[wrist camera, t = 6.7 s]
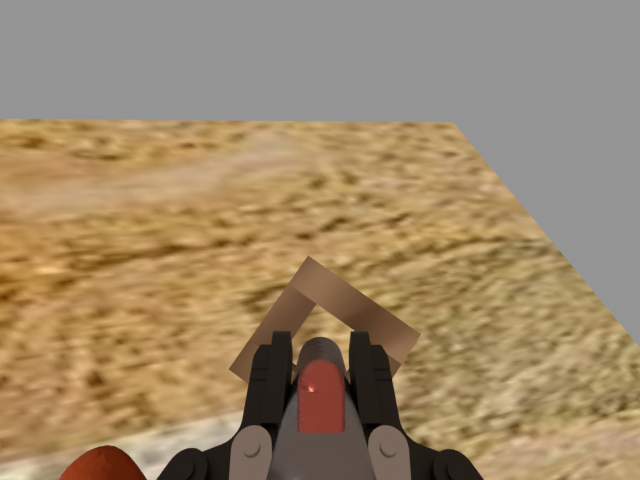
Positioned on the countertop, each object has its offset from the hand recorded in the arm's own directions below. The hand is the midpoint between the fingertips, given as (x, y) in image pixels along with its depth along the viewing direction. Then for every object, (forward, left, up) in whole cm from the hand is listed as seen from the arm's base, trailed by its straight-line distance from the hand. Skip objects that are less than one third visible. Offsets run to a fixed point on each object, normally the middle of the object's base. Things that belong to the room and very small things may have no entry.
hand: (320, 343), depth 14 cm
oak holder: (+1, -2, -9) cm, 9 cm away
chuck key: (+1, -2, -6) cm, 6 cm away
